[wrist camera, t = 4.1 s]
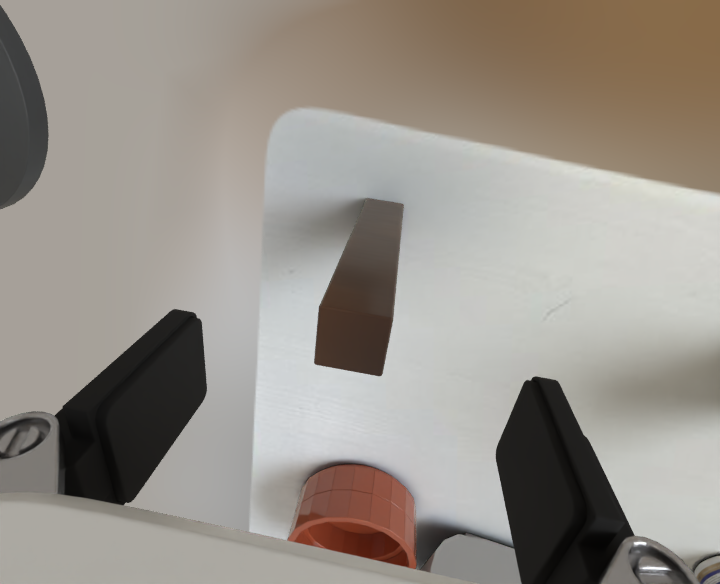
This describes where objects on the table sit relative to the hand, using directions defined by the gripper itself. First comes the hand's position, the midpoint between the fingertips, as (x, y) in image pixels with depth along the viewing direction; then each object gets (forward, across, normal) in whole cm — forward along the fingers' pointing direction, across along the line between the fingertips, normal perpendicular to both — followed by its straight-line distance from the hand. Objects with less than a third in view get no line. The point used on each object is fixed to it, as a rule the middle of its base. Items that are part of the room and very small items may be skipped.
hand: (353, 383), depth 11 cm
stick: (+16, +1, 0) cm, 16 cm away
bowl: (+16, -1, +28) cm, 33 cm away
